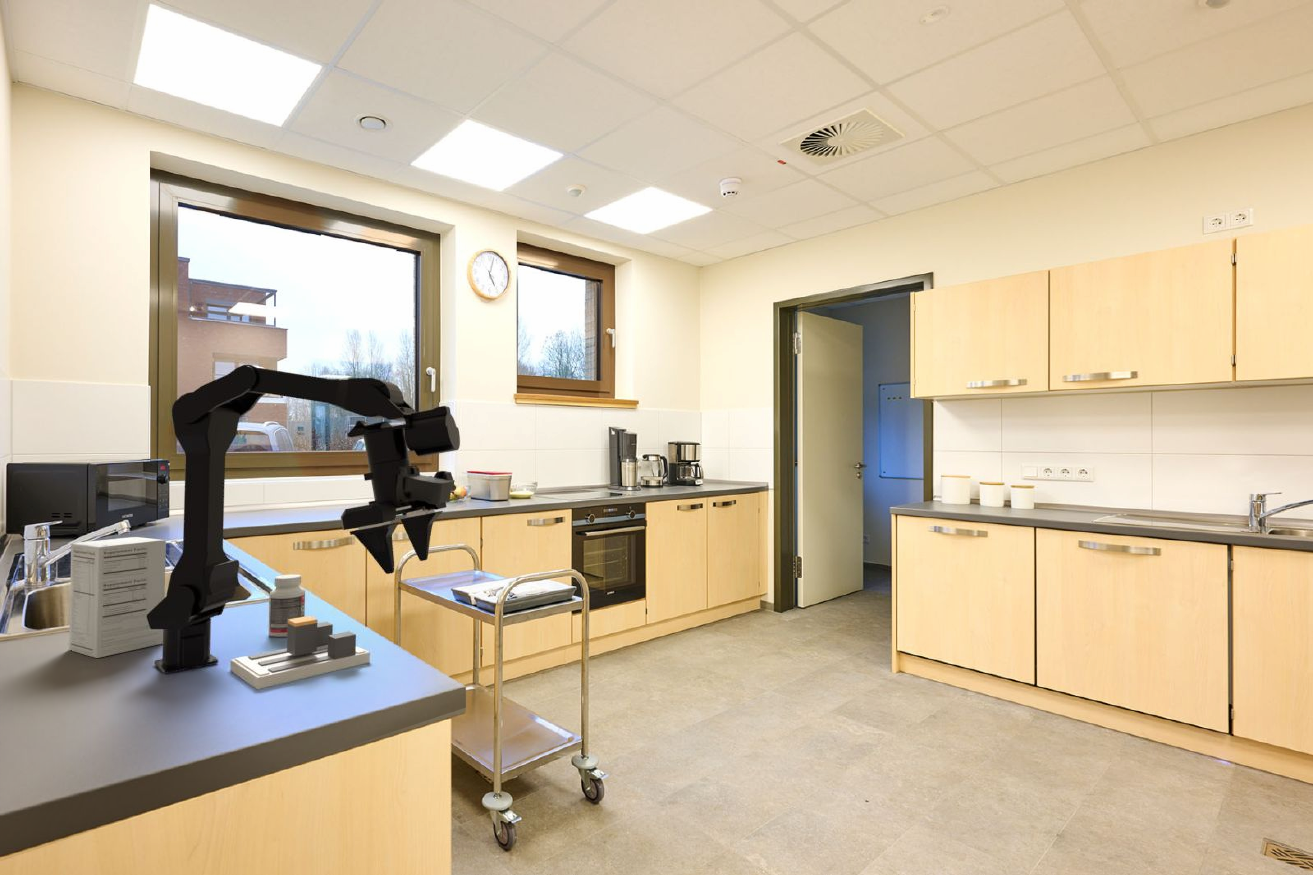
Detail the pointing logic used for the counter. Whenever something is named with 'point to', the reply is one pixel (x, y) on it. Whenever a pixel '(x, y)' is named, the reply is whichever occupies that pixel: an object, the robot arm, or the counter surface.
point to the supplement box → (115, 594)
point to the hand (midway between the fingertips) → (407, 566)
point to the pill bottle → (285, 603)
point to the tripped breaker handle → (302, 635)
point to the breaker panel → (302, 660)
